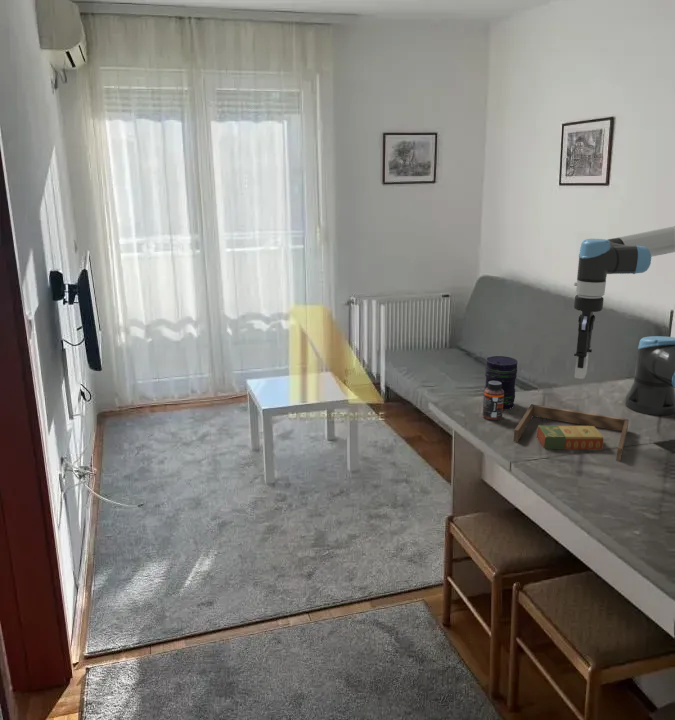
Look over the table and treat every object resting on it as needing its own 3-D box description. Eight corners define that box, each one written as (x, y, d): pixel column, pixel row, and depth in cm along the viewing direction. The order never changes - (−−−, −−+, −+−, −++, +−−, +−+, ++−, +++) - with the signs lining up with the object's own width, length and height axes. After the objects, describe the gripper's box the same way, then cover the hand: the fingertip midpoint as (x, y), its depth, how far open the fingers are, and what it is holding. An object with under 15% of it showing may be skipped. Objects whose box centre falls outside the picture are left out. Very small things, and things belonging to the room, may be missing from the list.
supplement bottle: (498, 422, 204) (501, 386, 200) (479, 418, 207) (482, 383, 203) (504, 416, 209) (507, 381, 205) (485, 412, 212) (488, 378, 208)
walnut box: (627, 430, 198) (628, 419, 197) (620, 460, 178) (621, 448, 177) (530, 414, 210) (531, 404, 209) (513, 441, 190) (514, 429, 189)
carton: (602, 451, 185) (604, 436, 184) (543, 450, 185) (544, 435, 184) (592, 438, 193) (594, 424, 192) (535, 437, 193) (537, 424, 192)
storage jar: (491, 397, 225) (495, 354, 221) (519, 403, 219) (523, 359, 215) (477, 405, 218) (480, 361, 213) (505, 412, 212) (509, 367, 207)
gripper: (579, 289, 196) (571, 366, 202) (570, 299, 182) (562, 382, 188) (607, 291, 192) (597, 370, 199) (600, 302, 178) (590, 386, 185)
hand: (580, 375), depth 194 cm, fingers open, 3 cm apart
